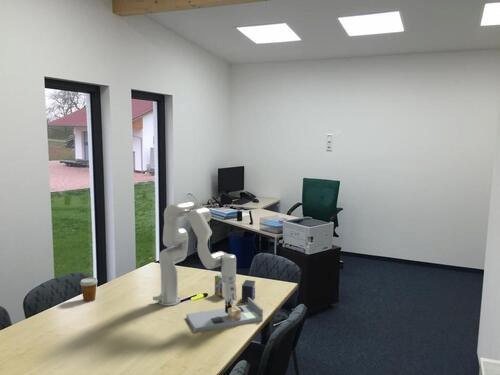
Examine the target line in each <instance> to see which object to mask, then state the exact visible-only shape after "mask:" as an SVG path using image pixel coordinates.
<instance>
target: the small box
mask: <svg viewBox="0 0 500 375" xmlns="http://www.w3.org/2000/svg"><path fill="white" fill-rule="evenodd" d="M248 298H251V299H252V300H253V301H254V300H255V298H256V280H251V279H250V280H249V279H245V280H244V282H243V283H242V285H241V303H242V304H243V303H244V304H248Z"/></svg>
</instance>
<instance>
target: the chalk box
mask: <svg viewBox="0 0 500 375" xmlns="http://www.w3.org/2000/svg"><path fill="white" fill-rule="evenodd" d="M222 283H223V282H222V270H221V271H220V274H217V275H215V276H214V295H215V296H218V297H222V298H223V296H222Z"/></svg>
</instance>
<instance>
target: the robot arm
mask: <svg viewBox="0 0 500 375" xmlns="http://www.w3.org/2000/svg"><path fill="white" fill-rule="evenodd" d="M165 207H166V208H164V211H163V222H164V224H163V232H162V242H163V243H162V244H163V245H164V246H165V247H167V248H164V249H163V250H161V251H160V252H159V254H158V262H159V267H160V293H159V295H156V296H152V301H155V302H158V304H159V305H160V306H167V307H169V306H175V305H178V304H180V302H181V298H180V297H179V294H178V293H179V292H178V291H179V290H178V286H179V284H178V283H179V282H178V281H179V280H178V279H179V277H178V269H177V267H176V265H175V264H177V263H180V262H183V261H184V260H185V259H186V258H187V254H188V249H189V248H188V246H189V234H188V230H186V229H185V228H183V227H180V220H179V219H182V218H183V219H184V218H187V220H188V222H189V225H190V227H191V228H192V230H193V232H194V234H195V236H196V239H197V248H196V249H197V254H198V257H199V260H200V261H201V263H202V264H203V266H204V267H205V268H206V269H208V270H213V269H216V268H219V267H221V271H222V282H223V283H222V296H223V297H222V296H221V297H222V298H223V299H224V308H225V312H226V313H228V308H231V307H233V305H234V301H235V302H236V301H237V297H238V296H237V285H236V284H237V283H236V282H237V257H236V255H235V254H232V253H227V252H224V251H222V250H219V251H217V252H213V253H211V252H210V250H209V246H208V242H209V239H210V237H211V236H212V234H213V231H212V229H211V227H210V224H208V222H209V221H210V220H211V219H212V213H211V211H210V210H209V209H208V208H207V207H206V206H203V205H201V204H199V203H196V202H193V201H182V202H177V203H173V204H169V205H168V206H165Z"/></svg>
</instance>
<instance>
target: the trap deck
mask: <svg viewBox="0 0 500 375" xmlns="http://www.w3.org/2000/svg"><path fill="white" fill-rule="evenodd" d="M236 306H237V307H238V308H239V309H241V319H239V320H235V321H231V320H230V319H229V318H228V313H226V312H225V307H224V308H217V309H211V310H205V311H196V312H191V313H186V314H185V315H186V316H185V317H186V319H187V321H188V323H189V325H190V326H191V328H192V329H193V331H194V332H195V333H200V332H204V331H209V330H211V331H212V330H216V329H222V328H228V327H234V326H239V325H240V326H241V325H245V324H251V323H256V322H257V323H258V322H261V321H262V322H263V319H264V318H263V316H264V314H263V313H264V312H263V311H264V309H263V308H262V307H260V305H259V304H257V303H256V302H255V301H254V300H252V299H251V298H248V303H247V304H244V305H236Z"/></svg>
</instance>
